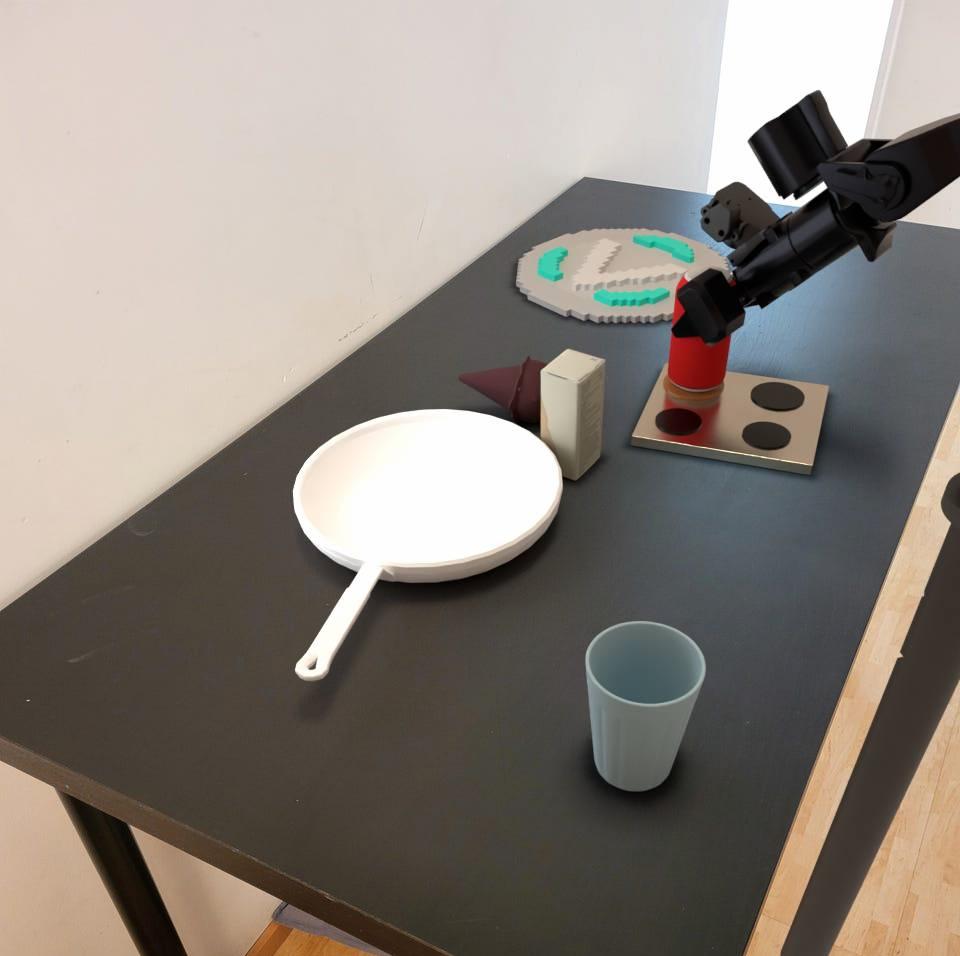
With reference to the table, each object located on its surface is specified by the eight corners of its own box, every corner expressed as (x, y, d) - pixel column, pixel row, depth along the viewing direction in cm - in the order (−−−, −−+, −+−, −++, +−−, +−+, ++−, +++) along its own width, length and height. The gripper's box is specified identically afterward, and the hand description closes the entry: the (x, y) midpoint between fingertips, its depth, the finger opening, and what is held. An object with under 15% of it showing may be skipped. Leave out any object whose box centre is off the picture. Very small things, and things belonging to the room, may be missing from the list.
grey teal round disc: (475, 275, 128) (475, 263, 126) (618, 218, 140) (618, 207, 139) (627, 345, 112) (628, 332, 111) (772, 274, 124) (774, 262, 123)
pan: (588, 460, 95) (590, 423, 92) (469, 750, 69) (466, 712, 66) (361, 427, 101) (356, 391, 98) (172, 682, 75) (157, 644, 72)
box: (566, 445, 97) (569, 345, 89) (602, 457, 95) (608, 357, 87) (538, 469, 94) (539, 369, 86) (574, 483, 92) (579, 381, 84)
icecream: (445, 376, 95) (588, 405, 93) (467, 327, 99) (605, 354, 96) (449, 424, 101) (583, 452, 99) (469, 376, 105) (600, 402, 102)
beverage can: (699, 403, 99) (713, 292, 91) (654, 382, 103) (664, 274, 94) (735, 382, 102) (752, 273, 94) (691, 363, 105) (704, 256, 97)
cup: (706, 752, 68) (727, 651, 61) (652, 824, 64) (667, 724, 56) (617, 706, 71) (626, 605, 64) (560, 771, 67) (563, 671, 60)
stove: (827, 395, 102) (829, 383, 101) (810, 475, 92) (813, 463, 91) (664, 371, 107) (665, 360, 106) (630, 445, 97) (631, 434, 96)
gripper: (813, 134, 89) (698, 226, 102) (708, 192, 79) (596, 286, 92) (871, 237, 91) (751, 315, 104) (775, 306, 81) (656, 382, 94)
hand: (690, 322), depth 98 cm, fingers closed on beverage can, 6 cm apart
